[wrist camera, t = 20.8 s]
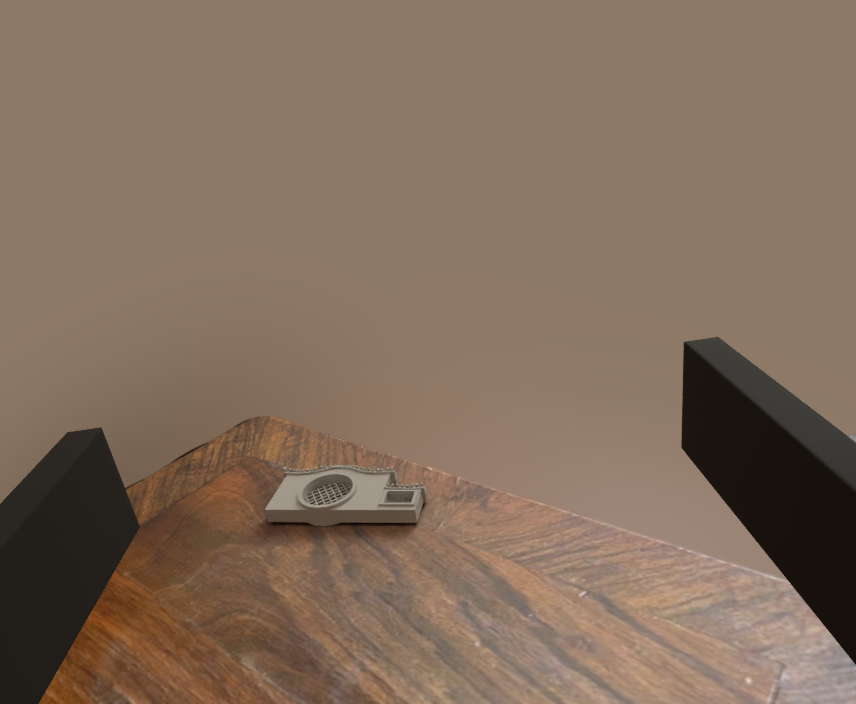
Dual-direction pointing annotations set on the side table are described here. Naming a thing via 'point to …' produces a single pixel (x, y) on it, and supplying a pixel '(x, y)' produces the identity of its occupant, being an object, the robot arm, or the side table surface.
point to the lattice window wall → (345, 497)
